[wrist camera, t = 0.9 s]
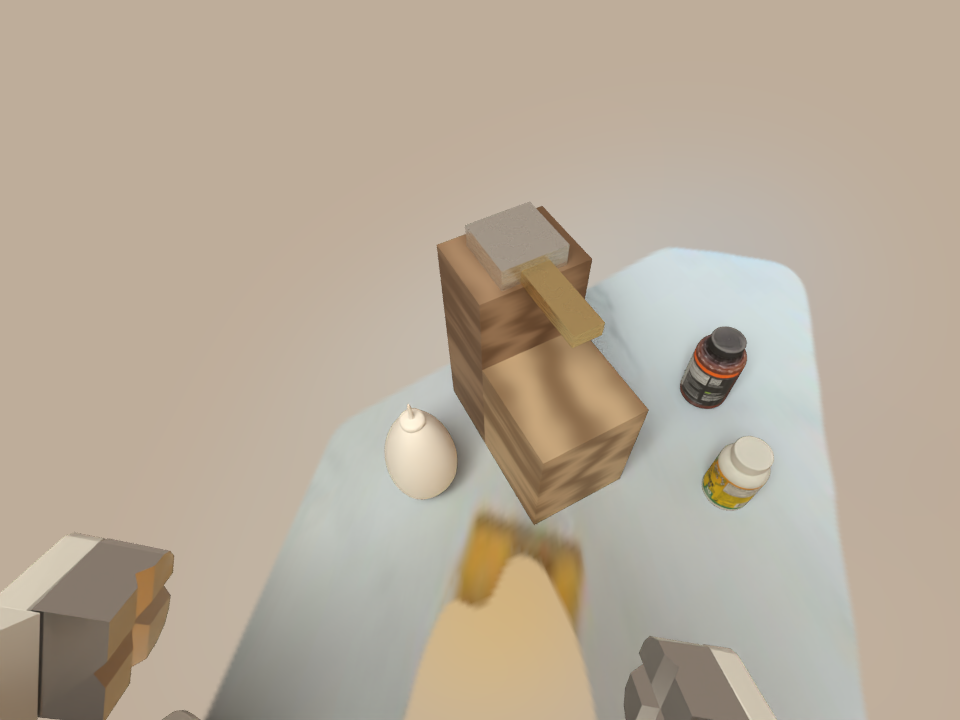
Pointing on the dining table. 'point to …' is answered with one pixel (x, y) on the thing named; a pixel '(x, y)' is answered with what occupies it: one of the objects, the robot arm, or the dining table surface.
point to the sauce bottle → (420, 454)
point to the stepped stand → (535, 385)
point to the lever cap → (533, 267)
